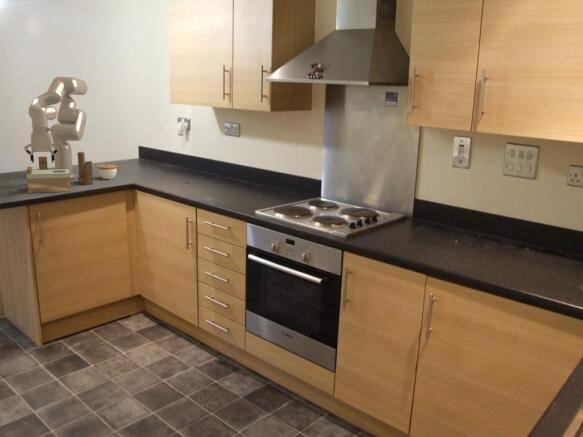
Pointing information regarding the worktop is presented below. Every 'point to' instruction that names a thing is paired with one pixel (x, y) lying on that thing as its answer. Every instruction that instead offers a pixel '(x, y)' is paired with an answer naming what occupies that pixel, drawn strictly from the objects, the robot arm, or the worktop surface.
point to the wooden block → (84, 170)
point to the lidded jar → (107, 171)
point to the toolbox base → (48, 185)
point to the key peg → (42, 163)
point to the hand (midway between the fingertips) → (42, 162)
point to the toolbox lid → (47, 173)
